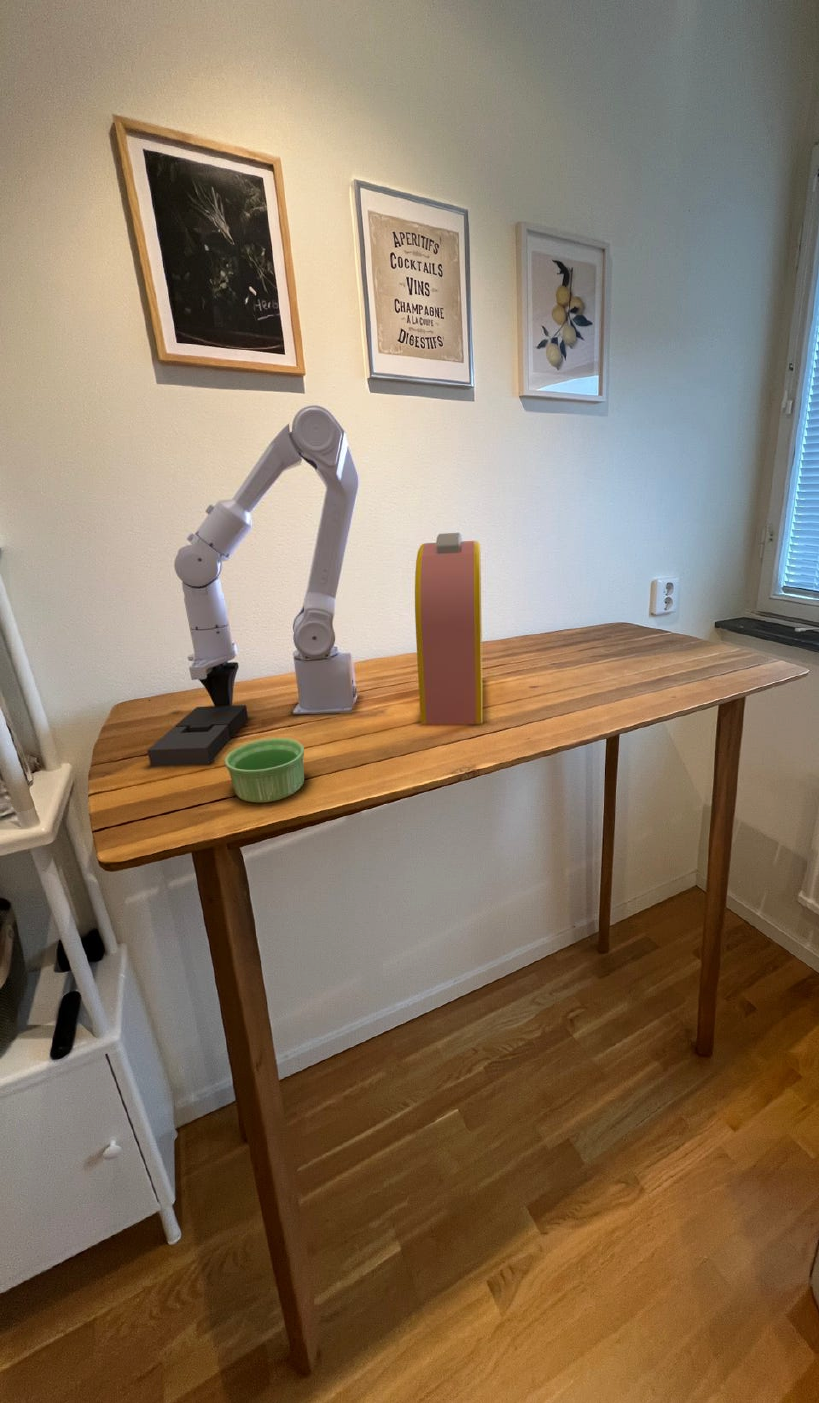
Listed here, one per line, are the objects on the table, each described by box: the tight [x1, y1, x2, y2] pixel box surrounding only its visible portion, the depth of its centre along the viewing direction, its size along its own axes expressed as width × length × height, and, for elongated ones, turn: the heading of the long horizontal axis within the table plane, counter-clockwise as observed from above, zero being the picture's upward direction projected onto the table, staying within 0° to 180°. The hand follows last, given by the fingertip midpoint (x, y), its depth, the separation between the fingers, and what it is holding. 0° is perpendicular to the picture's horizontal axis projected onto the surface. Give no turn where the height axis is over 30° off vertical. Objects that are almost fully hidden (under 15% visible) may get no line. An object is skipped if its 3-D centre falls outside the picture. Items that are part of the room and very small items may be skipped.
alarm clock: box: [414, 532, 483, 725], centre depth 86 cm, size 21×9×26 cm, turn 173°
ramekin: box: [224, 737, 305, 803], centre depth 64 cm, size 9×9×4 cm
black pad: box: [174, 704, 249, 739], centre depth 83 cm, size 8×9×2 cm
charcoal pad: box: [146, 725, 231, 767], centre depth 76 cm, size 8×8×2 cm
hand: (224, 709), depth 88 cm, fingers closed
